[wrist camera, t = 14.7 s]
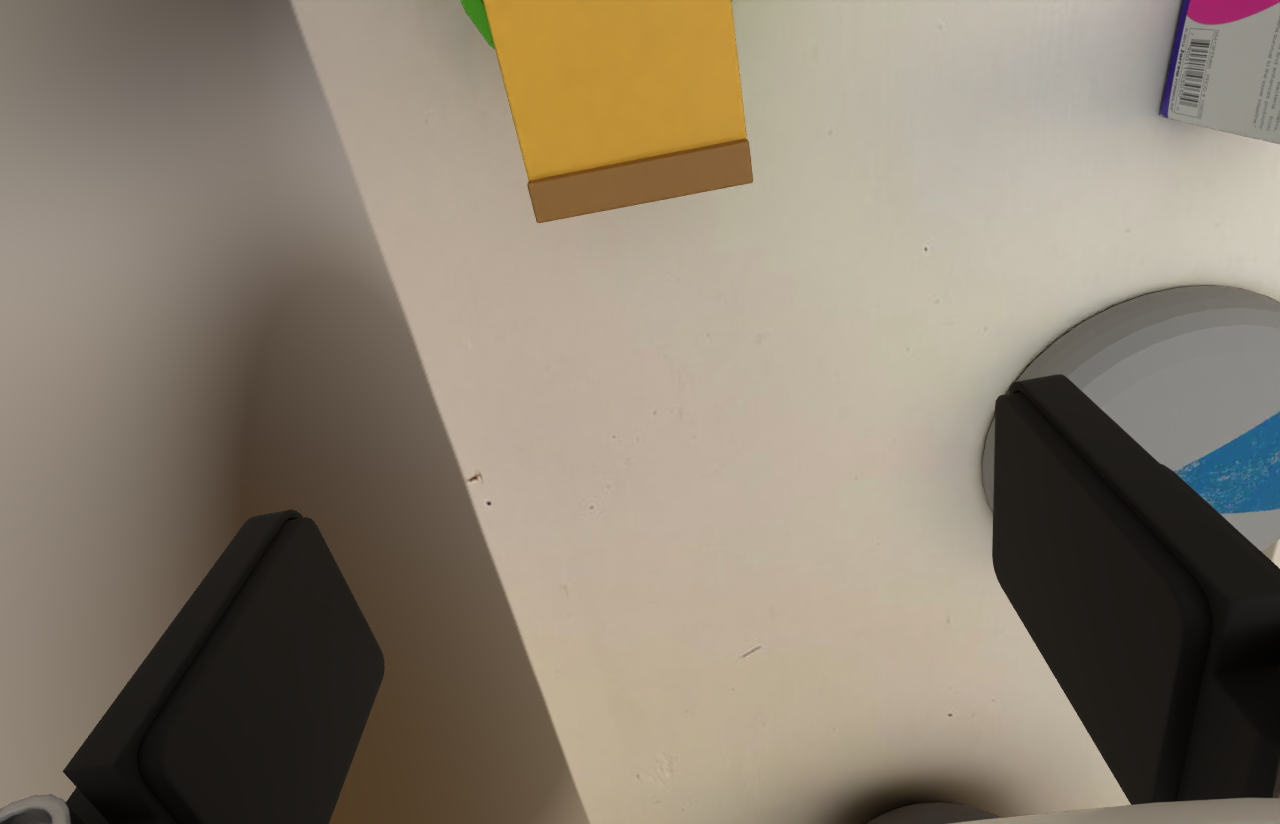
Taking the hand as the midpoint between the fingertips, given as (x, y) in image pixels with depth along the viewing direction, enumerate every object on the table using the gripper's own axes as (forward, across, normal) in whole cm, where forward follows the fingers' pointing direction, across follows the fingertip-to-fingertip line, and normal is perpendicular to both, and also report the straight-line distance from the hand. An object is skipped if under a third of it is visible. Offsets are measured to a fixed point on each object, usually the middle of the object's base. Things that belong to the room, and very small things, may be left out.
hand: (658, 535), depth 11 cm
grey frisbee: (+29, -25, +22) cm, 44 cm away
